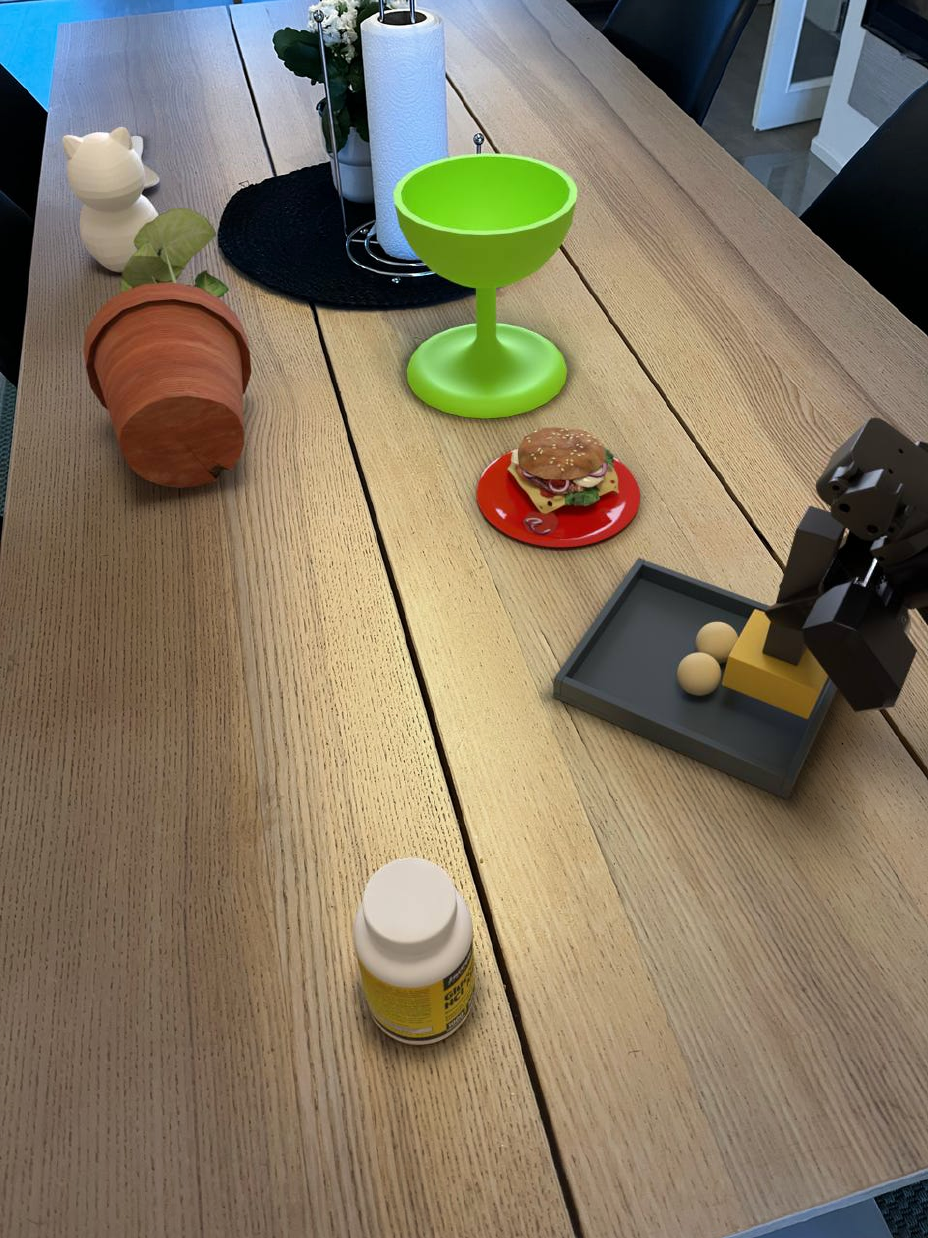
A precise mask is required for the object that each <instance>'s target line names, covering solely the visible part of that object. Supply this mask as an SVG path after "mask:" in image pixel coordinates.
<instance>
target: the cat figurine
mask: <svg viewBox="0 0 928 1238" xmlns="http://www.w3.org/2000/svg"><path fill="white" fill-rule="evenodd" d="M131 137H132V136H131V134H130V132H129V130H128V129H127V128H126V127H125V126H119V127H116V128H115V129H113V130H112V131H111V132H102V131H101V132H100V131H99V132H98V131H97V132H92V133H88V134H86V135H84V136H82V137H80V136H76V135H71V134H66V135H64V136H63V137H62V140H61V141H62V149H63V152H64V155H65V157H66V176H67V182H68V184H69V186H70V189H71V191H72V193H73V194H74V195H75V197H76V198H77V200H78V201H80V203H82V204H83V205H82V208H81V210H80V211H81V212H80V216H79V231H80V237H81V241H82V244H83V246H84V247H85V249H86V251H87V252H88V253H89V254H90V255H91V256H92V257H93V258H94V259H95V261H97V262H98V263H99V264H100V265H101V266H102V267H104V268H105V269H107V270H109V271H111V272H115V273H123V270H124V268H125V266H126V264H127V262H128V261H129V259H130V258H131V257H132V255H133V254H134V253H135V252H136V251H137V248H136V247H135V245H134V238H136V235H137V234H138V232H139V230H140V229H141V228H142V227H143V226H144V225H145V224H146V223H148V222H151V221H153V220H154V219H155V218H156V217H157V216H159V213H158V211H157V210H156V209H155V207H154V205H153V204H152V203H151V202H150V201H149V199H148V198H147V197H146V196H144V195H143V191H144V190H145V189H144V185H145V173H144V168H143V165H142V163H143V162H142V163H141V160H142V159H141V160H140V158H139V156H138V155H137V153H136V152H135V150H134V149H133V148H132V147H133V144H132V140H131Z"/></svg>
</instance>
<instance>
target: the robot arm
mask: <svg viewBox="0 0 928 1238" xmlns="http://www.w3.org/2000/svg"><path fill="white" fill-rule="evenodd" d="M926 374H927V375H928V366H927V367H926ZM815 490H816V493H817V495H818V497H819V498H820V499H821V501H822V502H823V503H825V504H826V505H827V506H829V507H830V508H829V510H830V512H831V516H832V517H833V518H834V519H835V520H837V521H838V522H839V523H841V524H842V525H843V526H844V527H846V529H847V530H848V533H847V534H846V535H844V536H843V539H842V542H841V545H840V548H839V551H838V554H837V556H835V557H834V558H833V559H832V561H831V563H830V565H829V567H828V569H827V571H826V573H825V575H824V577H823V579H822V581H821V583H820V584H817V585H815V586H813V587H811V588H808V589H806V590H804V591H802V592H799V593H797V594H795V595H792V596H790V597H788V598H786V599H783V600H781V601H779V602H778V603H776V602H775V603H774V604H772V605H769V606H770V607H768V608H767V609H766V611H765V615H766V616H767V618H768V619H769V620H770V622H771V623H772V624H774V625H777V626H781V627H786V628H790V629H794V630H798V631H802V632H803V639H804V644H805V645H806V647H807V648H808V649H809V651H810V652H811V653H812V655H813V656H814V657H815V659H816V660H817V661H818V663H819V664H820V665H821V667H822V668H823V670H824V671H825V672H826V674H827V675H828V676H829V678H830V679H831V680H832V682H833V683H834V684H835V686H836V687H837V691H839V693H840V694H841V696H842V697H843V698H844V699H845V701H846V702H847V704H848V705H849V706H850V708H851V709H852V710H853V712H854V713H868V712H873V711H880V710H885V709H890V708H894V707H895V705H896V703H897V701H898V699H899V697H900V694H901V692H902V690H903V687H904V685H905V682H906V679H907V678H908V675H909V672H910V670H911V667H912V666H913V665H912V664H913V662H914V660H915V657H916V654H917V652H918V649H917V647H916V646H915V645H914V643H913V642H912V641H911V639H910V638H909V633H910V630H911V628H912V620H911V619H912V618H911V616H910V614H909V611H911V610H916V611H917V613H918V614H919V616H920V617H921V618H922V620H923V621H924V623H925V624H926V625H927V626H928V442H925V441H922V440H918V441H916V442H913V441H912V440H911V439H910V438H909V437H907V436H906V435H904V434H903V433H901V432H900V430H898V429H896V428H895V427H894V426H892V425H891V424H890V423H888V422H887V421H886V420H884V419H882V418H879V417H870V418H868V420H866V421H865V422H864V423H863V424H862V425H861V426H860V427H859V428H858V429H857V430H856V431H855V432H854V433H853V434H852V435H850V436H849V437H848V438H847V439H846V440H845V441H844V442H843V443H842V444H841V445H840V446H839V447H838V448H837V449H836V450H835V451H834V452H833V453H832V454H831V456H830V460H829V461H828V462H827V465H826V466H825V468H824V470H823V472H822V473H821V474H820V475H819V477H818V478H817V481H816V483H815ZM780 586H781V583H779V585H778V587H779V589H780Z"/></svg>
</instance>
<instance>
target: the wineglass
mask: <svg viewBox="0 0 928 1238" xmlns="http://www.w3.org/2000/svg"><path fill="white" fill-rule="evenodd" d="M578 191H579V190H578V187H577V185H576V183H575V181H574V179H573V178H572V177H571V176H570V175H569V174H568V173H566V172H565V171H564V170H563V169H561V168H559V167H557V166H555V165H553V164H551V163H549V162H547V161H542V160H540V159H536V158H532V157H529V156H522V155H517V154H510V153H491V152H490V153H489V152H485V153H482V152H481V153H470V154H460V155H455V156H449V157H445V158H439V159H437V160H434V161H430V162H427V163H425V164H422V165H420V166H418V167H416V168H415V169H413V170H411V171H409V172H408V173H406V174H405V175H404V176H403V177H401V179H400V180H399V181H398V182H397V183H396V185H395V187H394V190H393V192H392V195H393V202H394V207H395V212H396V216H397V221H398V227H399V228H400V230H401V232H402V234H403V237H404V239H405V240H406V242H407V244H408V246H409V247H410V249H411V250H412V251H413V253H414V254H415V255H416V256H417V257H418V259H419V260H421V262H422V263H423V264H424V265H425V266H427V268H428V269H429V270H430V271H432V272H433V273H435V274H436V275H438V276H439V277H442V278H443V279H446V280H448V281H450V282H452V283H455V284H457V285H460V286H463V287H467V288H473V289H475V317H476V318H475V323H468V324H464V325H459V326H455V327H451V328H448V329H446V330H444V331H440V332H438V333H436V334H434V335H433V336H431V337H430V338H428V339H427V340H425V341H424V342H422V343H421V344H420V345H419V347H418V348H417V349H416V350H415V351H414V352H413V354H412V355H411V356H410V358H409V362H408V365H407V368H406V371H405V372H406V380H407V385H408V386H409V387H410V389H411V391H412V393H413V394H414V395H415V396H416V397H417V398H418V399H420V400H421V401H422V402H423V403H425V404H426V405H427V406H430V407H431V408H432V407H433V408H434V409H436V410H439V411H441V412H443V413H446V414H450V415H454V416H459V417H463V418H474V419H487V420H488V419H497V418H506V417H507V418H509V417H512V416H516V415H520V414H525V413H528V412H531V411H533V410H535V409H537V408H539V407H541V406H543V405H546V404H547V403H548V402H550V401H551V400H552V399H554V397H556V396H557V395H558V394H559V393H560V392H561V390H562V388H563V387H564V385H566V382H567V374H568V368H567V364H566V362H565V358H564V355H563V354H562V352H561V351H560V350H559V349H558V348H557V347H556V346H555V344H554V343H553V342H552V341H550V340H549V339H547V338H545V337H544V336H543V335H542V334H540V333H537V332H535V331H532V330H530V329H528V328H524V327H522V326H519V325H513V324H507V323H497V289H498V288H503V287H507V286H510V285H513V284H515V283H518V282H520V281H522V280H524V279H525V278H528V277H530V276H532V275H533V274H534V273H536V272H537V271H539V270H540V269H542V268H543V266H544V265H546V263H547V262H548V261H549V260H551V258H553V256H554V255H555V254H556V252H557V251H558V250H559V249H560V247H561V246H562V244H563V242H564V240H565V239H566V236H567V234H568V232H569V231H570V229H571V227H572V224H573V219H574V215H575V209H576V203H577V198H578Z"/></svg>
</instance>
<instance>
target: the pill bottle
mask: <svg viewBox="0 0 928 1238" xmlns="http://www.w3.org/2000/svg"><path fill="white" fill-rule="evenodd" d="M361 899H362V902H361V903H360V904H359V907H358V909H357V910H356V911H357V912H356V914H355V918H354V922H353V931H352V934H353V935H352V936H353V946H354V950H355V955H356V959H357V963H358V969H359V972H360V978H361V983H362V987H363V992H364V997H365V1000H366V1004H367V1008H368V1011H369V1013H370V1015H371V1017H372V1019H373V1021H374V1023H375V1024H376V1025H377V1027H379V1028H380V1030H381V1031H382V1032H383V1033H385V1034H386V1035H388V1037H391V1038H392V1039H394V1040H396V1041H399V1042H401V1043H404V1044H409V1045H420V1046H421V1045H429V1044H434V1043H437V1042H440V1041H442V1040H444V1039H446V1038H448V1037H449V1036H451V1035H452V1034H454V1032H455V1031H457V1030H458V1029H459V1028H460V1027H461V1026H462V1024H463V1023H464V1022H465V1020H466V1019H467V1017H468V1016H469V1013H470V1011H471V1009H472V1006H473V1003H474V998H475V988H476V987H475V986H476V985H475V961H474V960H475V956H474V926H473V920H472V919H473V918H472V915H471V912H470V909H469V906H468V904H467V902H466V901H465V898H463V896H462V894H461V893H460V892H459V891H458V890H457V889H456V888H455V884H454V882H453V880H452V879H451V877H450V875H449V874H448V873H447V872H446V871H445V869H444V868H443V867H441V866H439V865H438V864H436V863H435V862H433V861H431V860H428V859H424V858H422V857H421V858H420V857H403V858H399V859H395V860H392V861H390V862H388V863H385V865H383V866H381V867H380V868H379V869H377V870H376V871H375V872H374V873H373V875H372V876H371V877H370V878H369V880H368V881H367V883H366V885H365V888H364V890H363V894H362V898H361Z"/></svg>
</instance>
